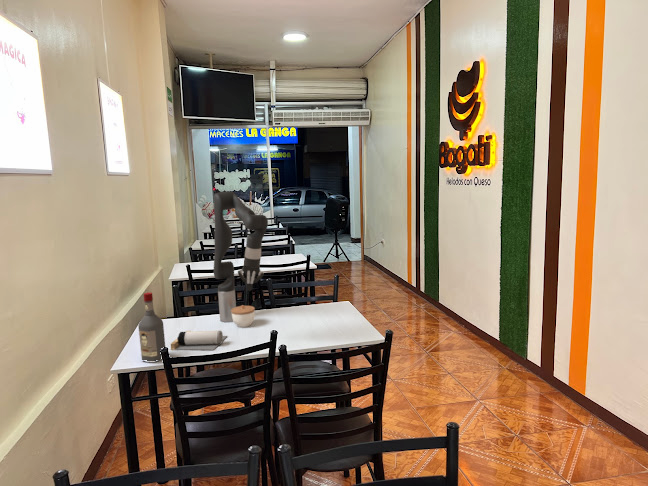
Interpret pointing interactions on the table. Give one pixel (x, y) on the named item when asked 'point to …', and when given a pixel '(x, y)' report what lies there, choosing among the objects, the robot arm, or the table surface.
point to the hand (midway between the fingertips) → (248, 290)
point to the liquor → (151, 332)
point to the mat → (200, 346)
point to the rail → (175, 344)
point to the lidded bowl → (243, 315)
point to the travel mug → (200, 337)
